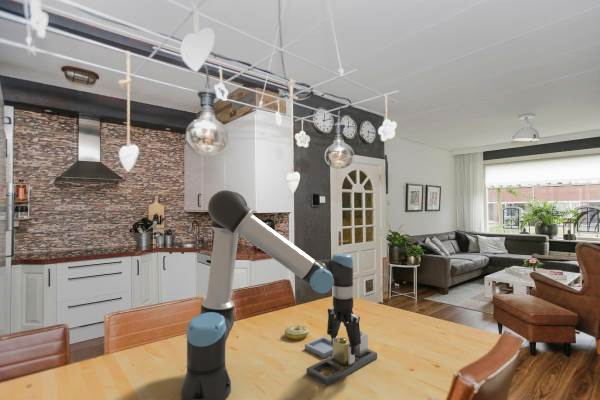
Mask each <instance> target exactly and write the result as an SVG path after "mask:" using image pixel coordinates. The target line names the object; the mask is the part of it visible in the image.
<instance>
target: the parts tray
mask: <svg viewBox="0 0 600 400" xmlns="http://www.w3.org/2000/svg"><path fill="white" fill-rule="evenodd" d="M304 349H305V350H306V351H308V352H310V353H312V354H314V355H316V356H318V357H320V358H322V359H323V360H325V359H327V358H329V357H331V356H333V346H332V341H331V339H330V338H328V337H325V336H322V337H318V338H317V339H314V340H312V341H309V342H306V343H305V344H304Z"/></svg>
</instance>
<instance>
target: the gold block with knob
mask: <svg viewBox="0 0 600 400" xmlns="http://www.w3.org/2000/svg"><path fill="white" fill-rule="evenodd" d="M348 345H350V342H349V339H348V338H347V337H339V339H337V340H335V341H334V362H335V363H337V364H339V365H341V366H343V367H346V366H348V365H350V364H348Z"/></svg>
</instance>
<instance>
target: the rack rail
mask: <svg viewBox="0 0 600 400" xmlns="http://www.w3.org/2000/svg"><path fill="white" fill-rule="evenodd" d="M377 358H378V353H377V352H376V351H374V350H372V349H369V348H368V355H367V356H365V357H363V358H361V359H360V358H357V357H355V362H354V363H352V364H350V365H348V366H346V367H343V366H341V365H339V364H337V363H335V362H334V356H333V355H331V356H329V357H327V358H325V359H323V360H320V361H318V362H317V363H314V364H312V365H310V366H308V367H307V368H306V375H307V376H308V377H310V378H312V379H314V380H316V381H317V382H319V383H320V384H322V385H324V386H326V387H329V386H331V385H332V384H333V385H334V384H335V383H336V382H337V381H338V382H339V380H341V379H344V378H345V377H347V376H348V375H350V374H352V373H354V372H355V371H357V370H359V369H361V368H363V367H364V366H367V365H368V364H370V363H371V362H373V361H375V360H377ZM326 368H327V369H329V370H331V371H332V372H333V373H331V374H329V375H325V374H323V373H321V372H320V371H322V370H324V369H326Z"/></svg>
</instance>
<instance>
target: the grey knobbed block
mask: <svg viewBox="0 0 600 400" xmlns="http://www.w3.org/2000/svg"><path fill="white" fill-rule="evenodd" d="M360 338H361V344H359V345H357V346H356V354H355V357H357V358H360V359H361V358H363V357H365V356H367V355H368V349H369V336H368V334H367V333H364V332H362V330H360Z"/></svg>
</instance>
